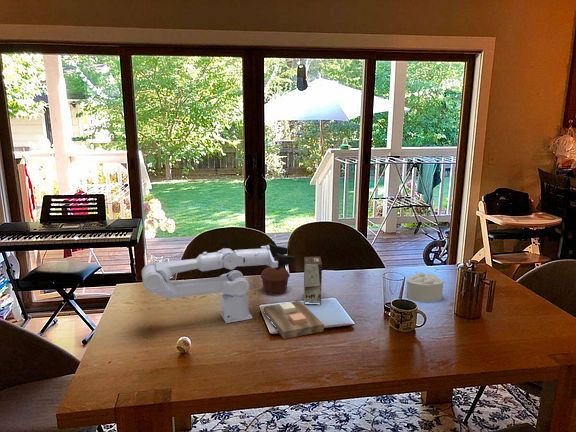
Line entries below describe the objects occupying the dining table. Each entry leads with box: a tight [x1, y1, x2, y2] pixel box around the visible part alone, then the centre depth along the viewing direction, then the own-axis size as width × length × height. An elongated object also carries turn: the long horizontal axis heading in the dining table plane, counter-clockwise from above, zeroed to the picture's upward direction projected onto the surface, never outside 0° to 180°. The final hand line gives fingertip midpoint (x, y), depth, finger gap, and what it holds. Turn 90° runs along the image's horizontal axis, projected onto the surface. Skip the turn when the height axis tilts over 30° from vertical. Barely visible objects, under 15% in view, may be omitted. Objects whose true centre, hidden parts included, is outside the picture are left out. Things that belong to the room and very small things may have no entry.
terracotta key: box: [289, 313, 306, 325], centre depth 149 cm, size 4×4×2 cm
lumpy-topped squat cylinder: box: [405, 271, 444, 303], centre depth 173 cm, size 10×13×9 cm
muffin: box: [260, 266, 291, 296], centre depth 179 cm, size 12×11×10 cm
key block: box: [263, 300, 325, 340], centre depth 153 cm, size 14×20×2 cm
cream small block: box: [279, 302, 296, 314], centre depth 157 cm, size 4×4×2 cm
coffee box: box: [303, 256, 323, 304], centre depth 170 cm, size 9×6×16 cm
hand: (291, 255), depth 160 cm, fingers open, 7 cm apart
